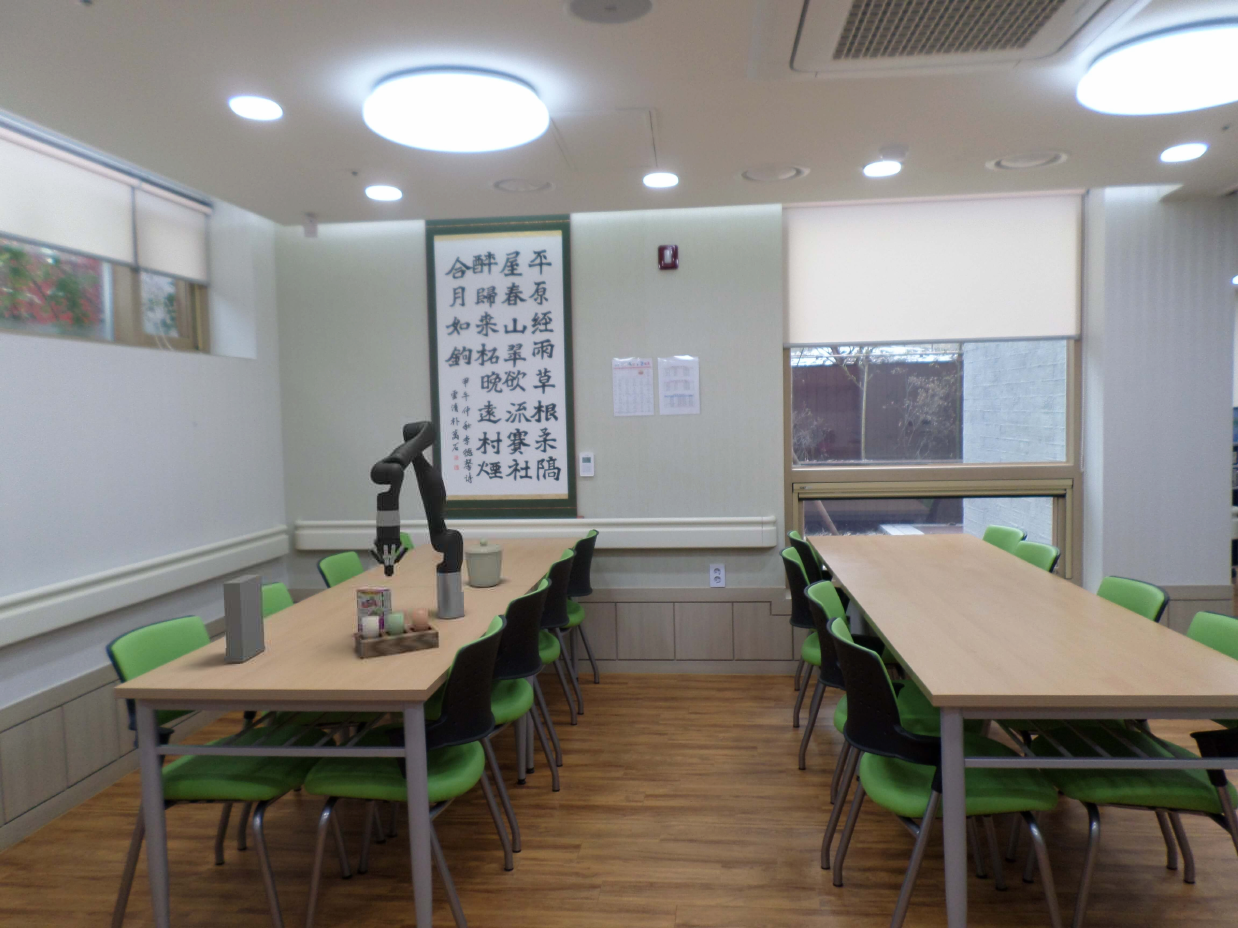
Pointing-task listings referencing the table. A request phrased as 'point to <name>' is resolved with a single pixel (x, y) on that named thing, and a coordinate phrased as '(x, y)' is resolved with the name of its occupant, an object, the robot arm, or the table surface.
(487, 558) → the canister
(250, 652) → the upright grey tower
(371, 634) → the button cream
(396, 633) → the green pillar candle
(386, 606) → the candy bar box
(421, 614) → the pink candle
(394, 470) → the robot arm
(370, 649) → the button board
